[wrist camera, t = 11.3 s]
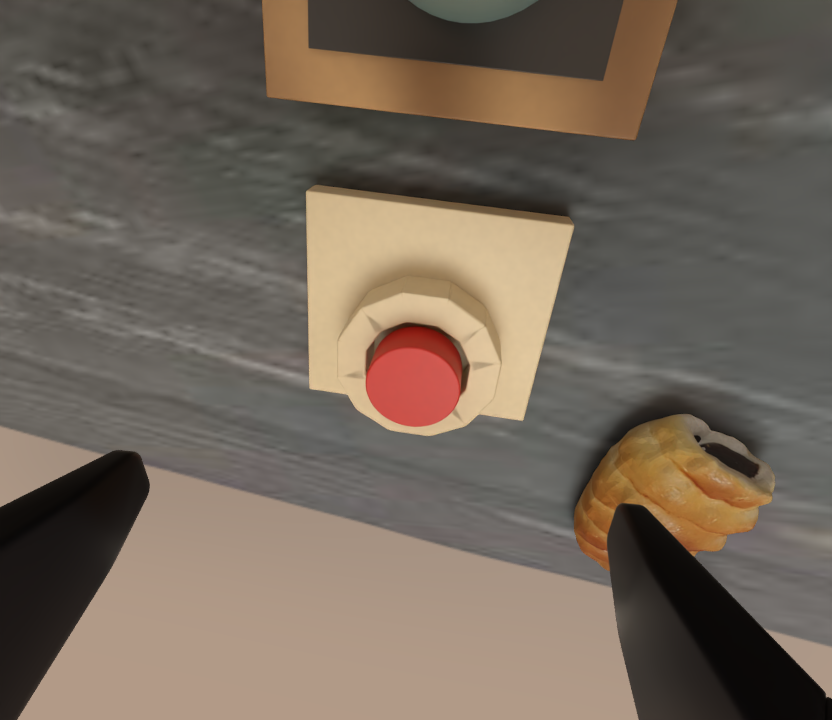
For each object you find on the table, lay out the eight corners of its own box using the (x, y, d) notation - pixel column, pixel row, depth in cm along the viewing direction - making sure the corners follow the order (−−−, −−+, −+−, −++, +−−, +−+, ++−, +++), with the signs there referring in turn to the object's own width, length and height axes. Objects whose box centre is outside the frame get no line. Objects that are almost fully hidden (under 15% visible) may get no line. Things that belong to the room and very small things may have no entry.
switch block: (570, 216, 19) (583, 239, 16) (520, 410, 23) (525, 451, 21) (314, 184, 19) (288, 201, 17) (316, 380, 24) (296, 416, 21)
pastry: (639, 560, 28) (659, 625, 24) (536, 511, 27) (543, 572, 23) (773, 451, 23) (821, 513, 20) (654, 387, 22) (683, 442, 19)
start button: (468, 332, 19) (467, 354, 17) (455, 408, 21) (453, 433, 19) (376, 319, 19) (367, 340, 18) (371, 395, 21) (363, 420, 19)
